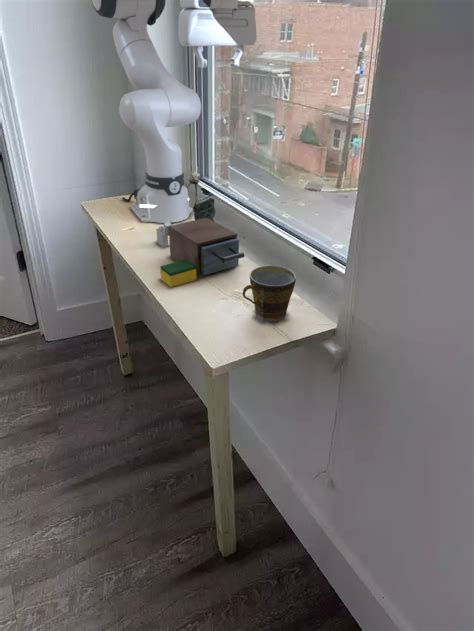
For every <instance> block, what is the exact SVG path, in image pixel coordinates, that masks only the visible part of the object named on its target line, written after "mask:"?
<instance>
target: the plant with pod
mask: <svg viewBox="0 0 474 631" xmlns="http://www.w3.org/2000/svg"><path fill="white" fill-rule="evenodd" d="M200 179H201V174H200V173H199V172H196V171H195V170H193V171H191V172H190V174H189V177H188V185H187V186H188V187H190V186H191V185H194V189H195V192H194V193H195V197H194V198H195V201H194V202H193V207H192V213H193V216H194V217H193V219H194V220H198V219H203V218H208V219H210V220H212V221H214V222H215V220H214V219H213V218H215V216H216V209H215V208H216V207H215V197H214V196H211V195H208V194H206V195H203V196H202V197H198V193H197V192H198V184H199V182H200Z"/></svg>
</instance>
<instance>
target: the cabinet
mask: <svg viewBox="0 0 474 631" xmlns="http://www.w3.org/2000/svg"><path fill="white" fill-rule="evenodd" d="M229 238H231V239H235V238H237V239H238V233H237V232H235V231H233V230H231V229H230V228H227V227H225V226H224V225H222V224H220V223H218V222H216V221H215V220H214V221H212V220H210V219H208V218H203V219H198V220H195V219H194V220H189V221H186V222H185V221H184V222H181V223H176V224H171V226H169V236H168V241H169V255H170V258H171V259H172V260H174V261H175V262H178V261H182V260H185V259H186V260H188V261H189V262H191V263H192V264H194V265H195V266H196V277H197V278H198V277H202V276H204V275H203V274H201V260H200V246H202V245H205V244H209V243H213V242H217V241H221V240H225V239H229Z"/></svg>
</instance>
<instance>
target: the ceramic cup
mask: <svg viewBox="0 0 474 631" xmlns="http://www.w3.org/2000/svg"><path fill="white" fill-rule="evenodd" d="M296 281H297V274H296V273H295V272H294V271H293V270H292V269H289V268H287V267H283V266H281V265H280V266H279V265H263V266H259V267H256V268H254V269H252V270H251V271H250V272H249V283H250V284H247V285H246V286H244V287H243V290H242V297H243V298H244V299H245V300H247V301H249V302H250V303H252V304H253V305H254V312H255V318H256V319H258V320H259V321H260V322H262V323H270V324H271V323H272V324H276V323H278V322H281V321H284V320H286V315H287V311H288V309H289V304H290V300H291V297H292V294H293V292H294V289H295V286H296ZM248 290H251V293H252V299H251V298H250V297H247V296H246V293H247V291H248Z"/></svg>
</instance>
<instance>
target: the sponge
mask: <svg viewBox="0 0 474 631" xmlns="http://www.w3.org/2000/svg"><path fill="white" fill-rule="evenodd" d="M159 268H160V279H161V281H162V282H164V283H165V284H166V285H168V286H169V287H170V288H173V287H176V286H177V287H178V286H179V285H180V286H181V285H183V284H187V283H190V282H194V281H197V275H196V266H195V265H194V264H192V263H191V262H189V261H188V260H186V259H185V260H182V261H178V262H177V261H175V262H170V263H167V264H164V265H160V267H159Z"/></svg>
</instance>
